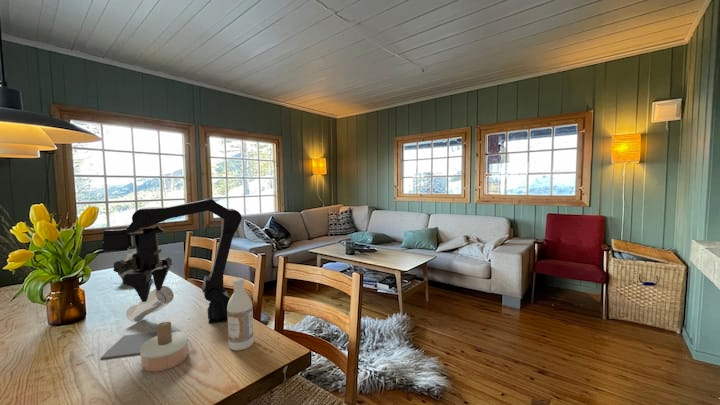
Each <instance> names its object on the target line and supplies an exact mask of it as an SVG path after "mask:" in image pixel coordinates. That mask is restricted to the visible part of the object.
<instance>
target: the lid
mask: <svg viewBox="0 0 720 405" xmlns="http://www.w3.org/2000/svg"><path fill="white" fill-rule="evenodd" d="M156 332H157V336H156V337H153V338H151V339H149V340H148V341H146V342H145V343H144V344H143V345H142V346H141V347H140V354H139V355H140V357H141V356H142V357H144V358H160V357H164V356H168V355H171V354H173V353H175V352H177V351H179V350H181V349H182V348H184V347H185V346H186V345H187V344H188V345H189V334H188V333H187V332H183V331H172V322H171V321H163V322H160V323H158V324H157V325H156Z"/></svg>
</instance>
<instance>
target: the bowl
mask: <svg viewBox="0 0 720 405" xmlns="http://www.w3.org/2000/svg"><path fill="white" fill-rule="evenodd" d="M188 353H189V343H188V344H187V345H186V346H185V347H184V348H182V349H181V350H179V351H177V352H175V353H173V354H171V355H168V356H164V357H160V358H144V357H142V356H141V355H140V359H141V360H140V361H141V366H142V367H143V369H144V370H145V371H146V372H147V373H149V372H150V373H158V372H164V371H168V370H170V369H172V368H174V367H177V366H178V365H180V364H181V363H183V362H184V361H185V360H186V359H187V357H188Z"/></svg>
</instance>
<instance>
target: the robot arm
mask: <svg viewBox="0 0 720 405" xmlns="http://www.w3.org/2000/svg"><path fill="white" fill-rule="evenodd" d="M203 212H211V213H212V214H214V215H216V216H217V217H219V218H221V220H220V222H221V223H220V225H221V226H220V231H221V233H220V237H219V240H218V245H217V247H216V252H215V256H214V260H213V263H212V268H211V271H210V273H209V275H204V277H203V283H202V284H201V286H200V287H201V291H202V293H203V295H204V299H205V300H206V301H208V302H209V304H208V307H207V319H208V324H213V323H214V324H215V323H221V322H228V319H227V306H228V302H229V300H230V298H231V296H230V295H229V293H228V292H227V289H225V288H224V274H225V270H226V265H227V261H228V258H229V254H230V250H231V246H232V242H233V239H234V236H235V233H237V230H238V229H239V226H240V224H241V222H242V214H241V213H240V212H239V211H238V210H236V209H233V208H227V207H225V206H223V205H221V204H220V203H218V202H216V201H215V200H214V199H212V198H205V199H203V200H197V201H193V202H191V201H190V202H186V203H181V204H175V205H172V206H164V207H163V206H159V207H158V206H157V207H155V206H154V207H142V208H139V209H137V210H136V211H135V212H133V214H132V216H131V223H130V224H128V225H127V226H126V228H122V229H121V228H120V229H105V230H103V232H102V233H103V236H102V243H101V246H102V250H103V253H104V254H110V253H116V252H117V253H118V252H126V251H127V252H128V251H129V250H130V248H133V247H134V243H135V251H136V253H134V254H133V255H132V257H133V258H131V259H128V260H126V261H125V259H124V260H123V259H120V260H118V261H114V263H113V270H112V271H113V272H116V273H117V274H118V273H119V275H120V274H123V273H124V272H126V271H128V270H131V269H133V271H131V272H129V273H127V274H126V275H124V277H123V278H121V280H122V285H124V286H125V285H126V286H127V287H132V288H133V289H134V290H135V292H136V293H137V295H138V297H139V298H140V301H141V300H142V302H146V301H147V299H148V296H149V292H151V287H152V283H153V282H154V286H155V289H156V290H157V291H160V290H161V288H162V286H164V282H165V280H166V278H167V275H168V273H169V271H170V269H171V266H172V265H173V263H172V261H173V260H172V259H171V257H169V256H168V257H167V256H166V257H160V253H162V248H159V240H158V234H160V233H164V230H165V228H162V227H161V226H160V225H159V224H160V223H162V222H165V221H167V220H170V219H175V218H180V217H183V216H188V215H194V214H199V213H203ZM153 226H155V227H153ZM139 229H142V231H138V230H139ZM134 270H139V271H134ZM119 275H118V276H119Z"/></svg>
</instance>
